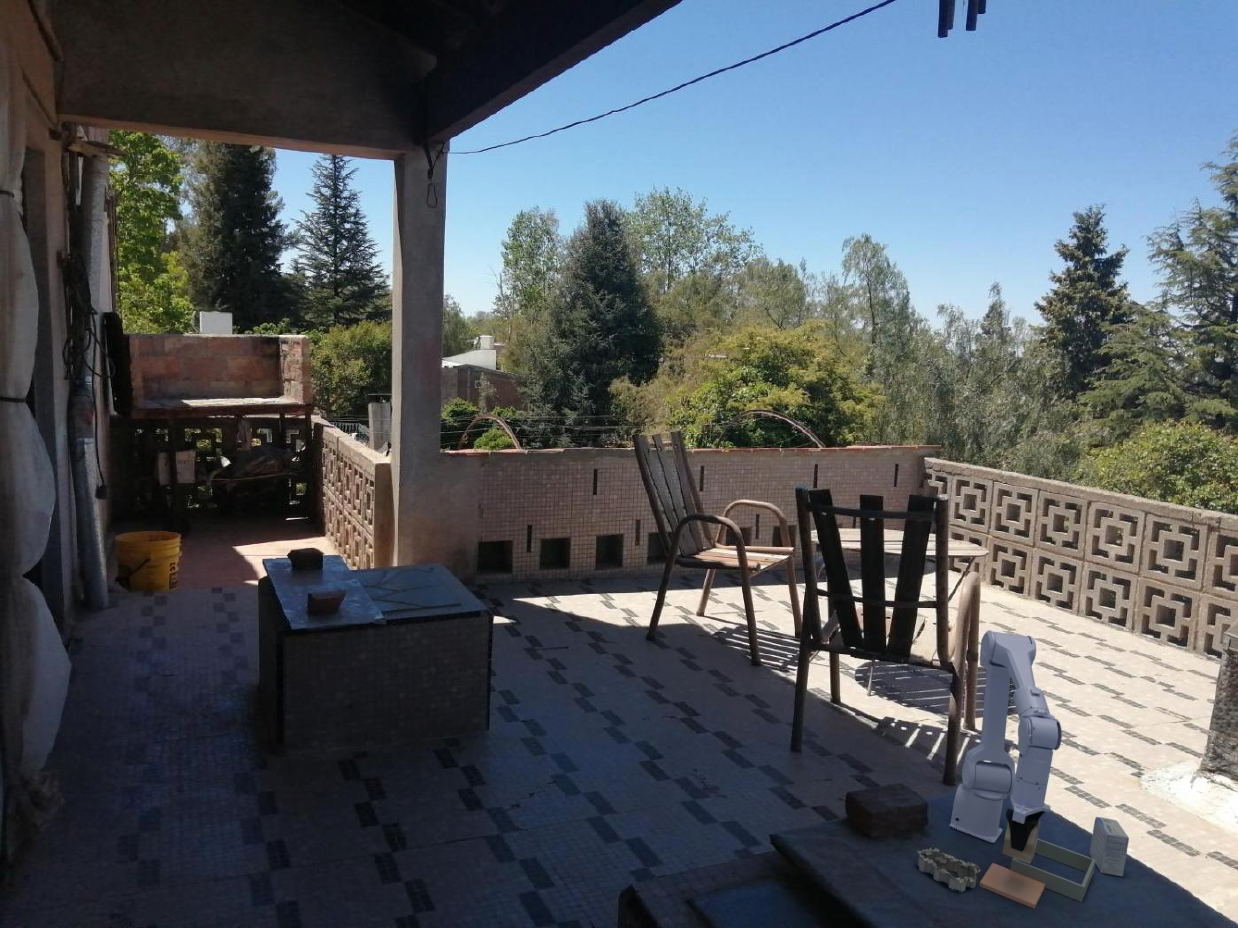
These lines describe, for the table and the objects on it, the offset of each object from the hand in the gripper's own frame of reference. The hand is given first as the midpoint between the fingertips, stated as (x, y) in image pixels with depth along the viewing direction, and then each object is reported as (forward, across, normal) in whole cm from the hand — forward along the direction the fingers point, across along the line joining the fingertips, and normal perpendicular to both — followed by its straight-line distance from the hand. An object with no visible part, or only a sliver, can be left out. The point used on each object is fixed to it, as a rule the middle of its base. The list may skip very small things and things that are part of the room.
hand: (1019, 844), depth 178 cm
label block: (+2, 0, 0) cm, 2 cm away
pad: (+9, 0, 0) cm, 9 cm away
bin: (+9, +12, -5) cm, 16 cm away
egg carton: (+9, -6, +11) cm, 16 cm away
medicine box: (+9, +25, -13) cm, 30 cm away
